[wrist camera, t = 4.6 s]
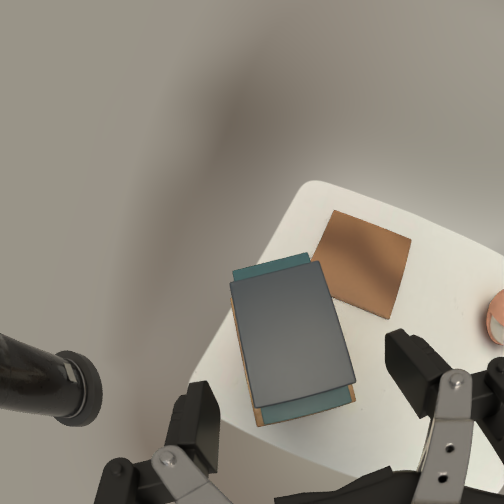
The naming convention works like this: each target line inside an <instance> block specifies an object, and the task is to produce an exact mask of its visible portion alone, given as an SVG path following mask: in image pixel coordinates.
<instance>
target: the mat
mask: <svg viewBox="0 0 504 504" xmlns="http://www.w3.org/2000/svg"><path fill="white" fill-rule="evenodd" d="M410 245H411V239H409V238H406V237H404V236H401V235H399V234H397V233H394V232H392V231H389V230H387V229H384V228H381V227H379V226H376V225H374V224H371V223H368V222H366V221H363V220H361V219H358V218H355V217H352V216H350V215H347V214H344V213H342V212H339V211H336V210H334V211H333V214H332V216H331V218H330V220H329V223H328V225H327V227H326V229H325V231H324V234H323V236H322V238H321V240H320V242H319V244H318V247H317V249H316V251H315V253H314V255H313V257H312V259H311V262H313V261H317V260H318V261H319V262H320V265H321V268H322V270H323V273H324V276H325V279H326V282H327V285H328V288H329V291H330V294H331V296H332V297H334V298H337V299H339V300H341V301H344V302H346V303H349V304H351V305H354V306H356V307H358V308H361V309H363V310H366V311H368V312H371V313H373V314H376V315H378V316H380V317H383V318H385V319H389V318H390V315H391V312H392V309H393V306H394V303H395V300H396V297H397V293H398V290H399V287H400V283H401V280H402V276H403V272H404V269H405V265H406V261H407V257H408V253H409V249H410Z"/></svg>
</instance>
